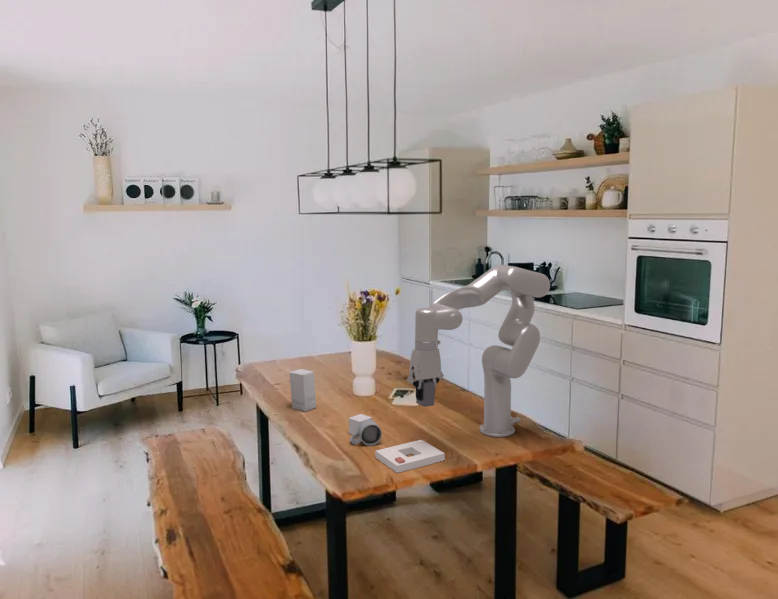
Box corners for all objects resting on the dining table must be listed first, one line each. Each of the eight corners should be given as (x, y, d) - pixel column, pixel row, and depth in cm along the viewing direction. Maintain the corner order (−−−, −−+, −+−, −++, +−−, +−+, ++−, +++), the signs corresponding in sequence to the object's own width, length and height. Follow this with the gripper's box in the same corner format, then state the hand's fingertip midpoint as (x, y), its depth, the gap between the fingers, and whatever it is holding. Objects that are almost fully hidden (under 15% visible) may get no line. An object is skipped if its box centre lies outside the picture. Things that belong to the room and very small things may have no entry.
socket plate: (421, 446, 219) (421, 437, 218) (444, 460, 207) (444, 451, 206) (375, 457, 210) (375, 448, 209) (397, 473, 198) (397, 463, 197)
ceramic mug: (377, 436, 229) (376, 415, 227) (382, 444, 221) (381, 423, 219) (348, 439, 226) (347, 419, 225) (352, 448, 218) (351, 427, 217)
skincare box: (316, 408, 260) (315, 371, 257) (304, 412, 255) (303, 374, 252) (302, 404, 265) (301, 367, 262) (290, 408, 260) (289, 371, 257)
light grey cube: (372, 433, 232) (372, 417, 231) (360, 437, 227) (359, 421, 226) (361, 429, 236) (360, 413, 235) (349, 433, 232) (348, 417, 231)
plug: (426, 401, 217) (426, 373, 215) (434, 405, 212) (434, 377, 211) (416, 402, 215) (416, 375, 213) (424, 406, 211) (424, 378, 209)
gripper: (441, 340, 218) (439, 392, 221) (398, 345, 210) (398, 399, 213) (453, 345, 211) (452, 398, 214) (410, 350, 203) (409, 405, 206)
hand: (425, 398), depth 213 cm, fingers closed on plug, 4 cm apart
